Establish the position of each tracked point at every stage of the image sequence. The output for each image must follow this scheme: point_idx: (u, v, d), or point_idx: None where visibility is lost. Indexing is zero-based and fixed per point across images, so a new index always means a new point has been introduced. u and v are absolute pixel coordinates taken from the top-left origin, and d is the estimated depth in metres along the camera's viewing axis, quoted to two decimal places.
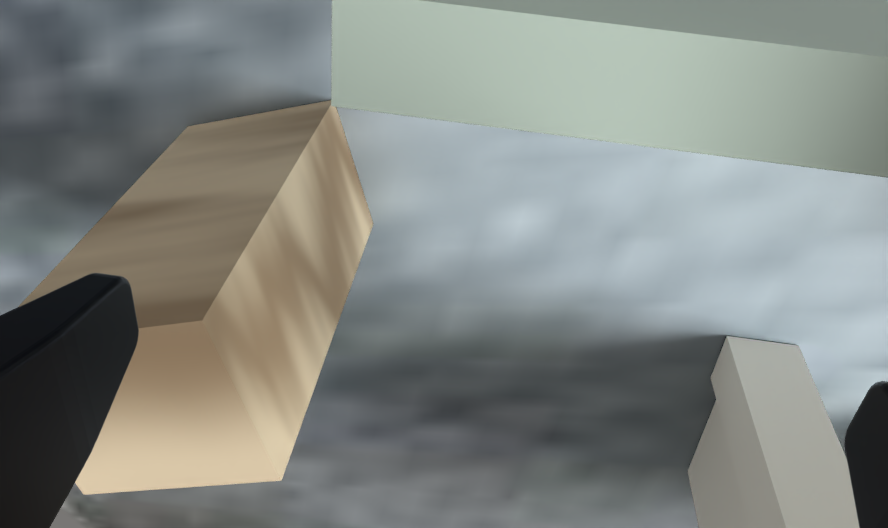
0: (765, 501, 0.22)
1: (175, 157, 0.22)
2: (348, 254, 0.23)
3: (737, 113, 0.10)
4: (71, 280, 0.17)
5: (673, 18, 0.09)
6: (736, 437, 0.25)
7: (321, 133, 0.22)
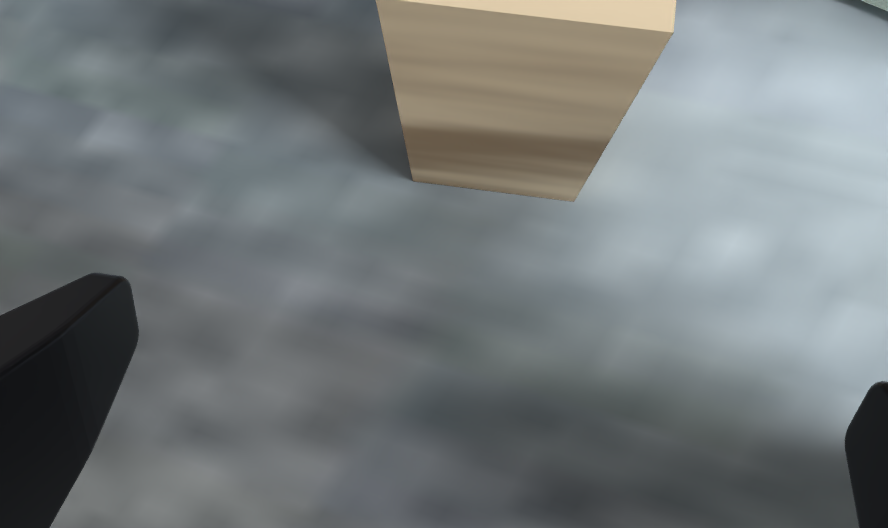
0: None
1: None
2: None
3: None
4: None
5: None
6: None
7: None
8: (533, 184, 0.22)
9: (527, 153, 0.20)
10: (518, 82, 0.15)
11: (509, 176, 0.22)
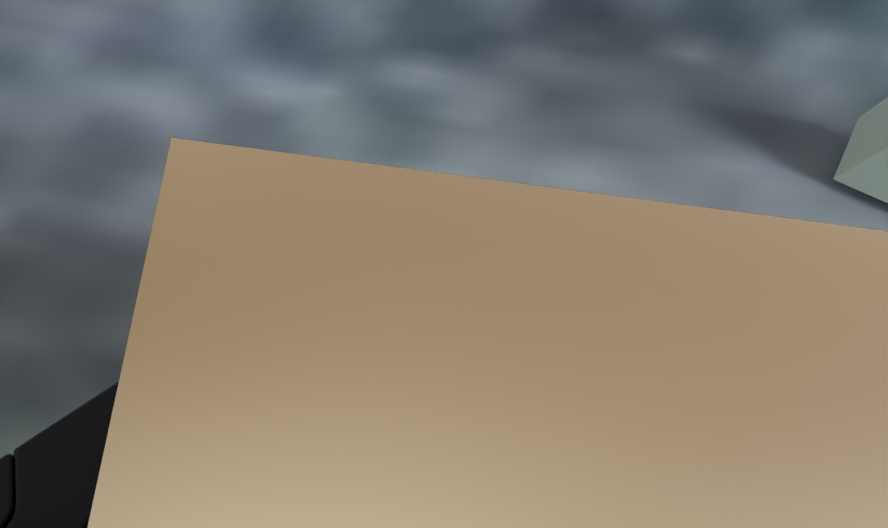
0: None
1: None
2: None
3: None
4: None
5: None
6: None
7: None
8: None
9: None
10: None
11: None
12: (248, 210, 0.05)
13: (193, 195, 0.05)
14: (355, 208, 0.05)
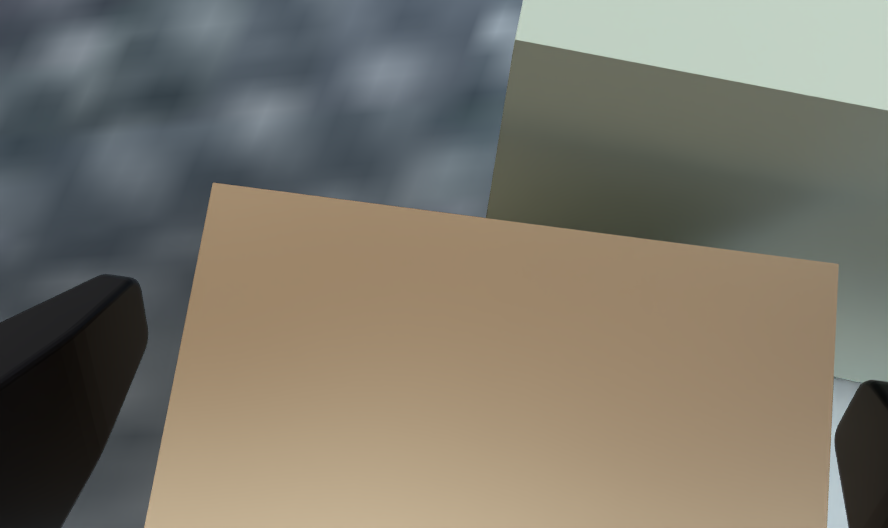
0: None
1: None
2: None
3: None
4: None
5: None
6: None
7: None
8: None
9: None
10: None
11: None
12: (278, 245, 0.06)
13: (232, 232, 0.06)
14: (369, 243, 0.06)
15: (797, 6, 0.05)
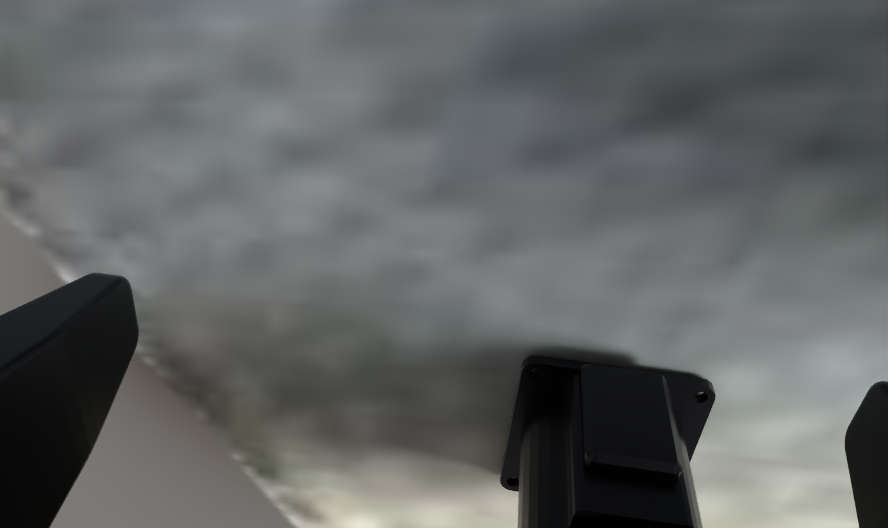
0: None
1: None
2: None
3: None
4: None
5: None
6: None
7: None
8: None
9: None
10: None
11: None
12: None
13: None
14: None
15: None
